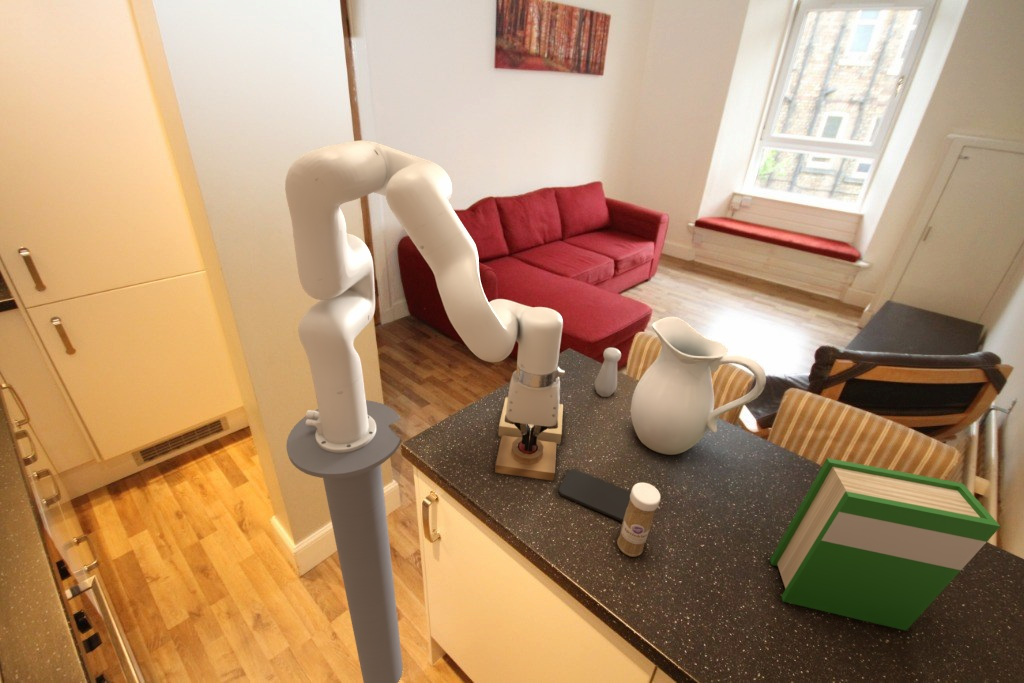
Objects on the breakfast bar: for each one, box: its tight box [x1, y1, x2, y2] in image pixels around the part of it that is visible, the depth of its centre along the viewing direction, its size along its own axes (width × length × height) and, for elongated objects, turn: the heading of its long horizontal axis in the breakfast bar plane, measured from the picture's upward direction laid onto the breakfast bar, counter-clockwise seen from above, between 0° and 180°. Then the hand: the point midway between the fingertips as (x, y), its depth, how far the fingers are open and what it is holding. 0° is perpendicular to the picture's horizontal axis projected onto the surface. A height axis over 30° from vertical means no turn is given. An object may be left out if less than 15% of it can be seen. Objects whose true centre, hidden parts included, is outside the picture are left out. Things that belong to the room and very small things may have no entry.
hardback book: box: [769, 457, 1001, 631], centre depth 67 cm, size 18×7×24 cm, turn 78°
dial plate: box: [497, 396, 564, 445], centre depth 104 cm, size 14×11×3 cm
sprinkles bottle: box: [616, 482, 662, 558], centre depth 75 cm, size 5×5×14 cm
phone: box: [558, 468, 631, 523], centre depth 87 cm, size 7×1×15 cm
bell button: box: [519, 441, 536, 454], centre depth 93 cm, size 4×4×2 cm
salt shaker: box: [594, 347, 622, 398], centre depth 115 cm, size 6×6×13 cm
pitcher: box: [630, 316, 767, 456], centre depth 94 cm, size 24×17×28 cm
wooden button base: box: [494, 435, 557, 482], centre depth 93 cm, size 12×9×4 cm
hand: (528, 446), depth 92 cm, fingers closed
